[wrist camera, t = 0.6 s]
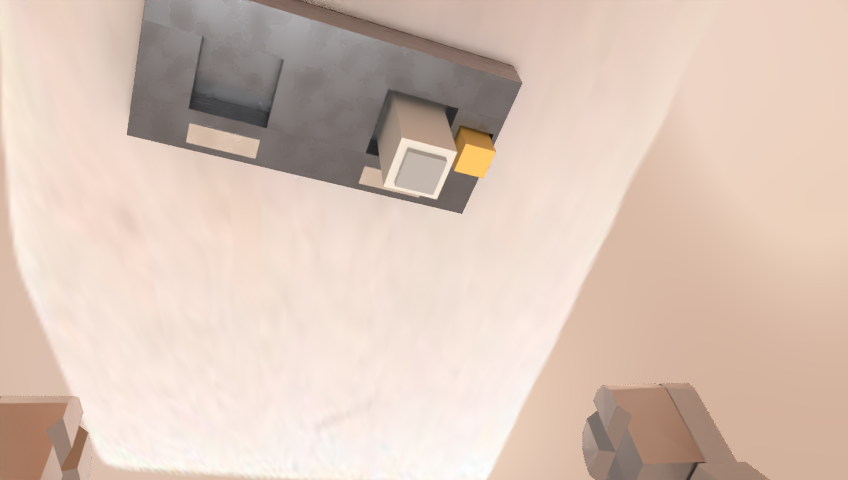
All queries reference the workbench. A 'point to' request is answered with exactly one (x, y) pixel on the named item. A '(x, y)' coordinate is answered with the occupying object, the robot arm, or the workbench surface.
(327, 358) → the workbench surface
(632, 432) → the robot arm
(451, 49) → the panel
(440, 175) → the plug
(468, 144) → the plate
